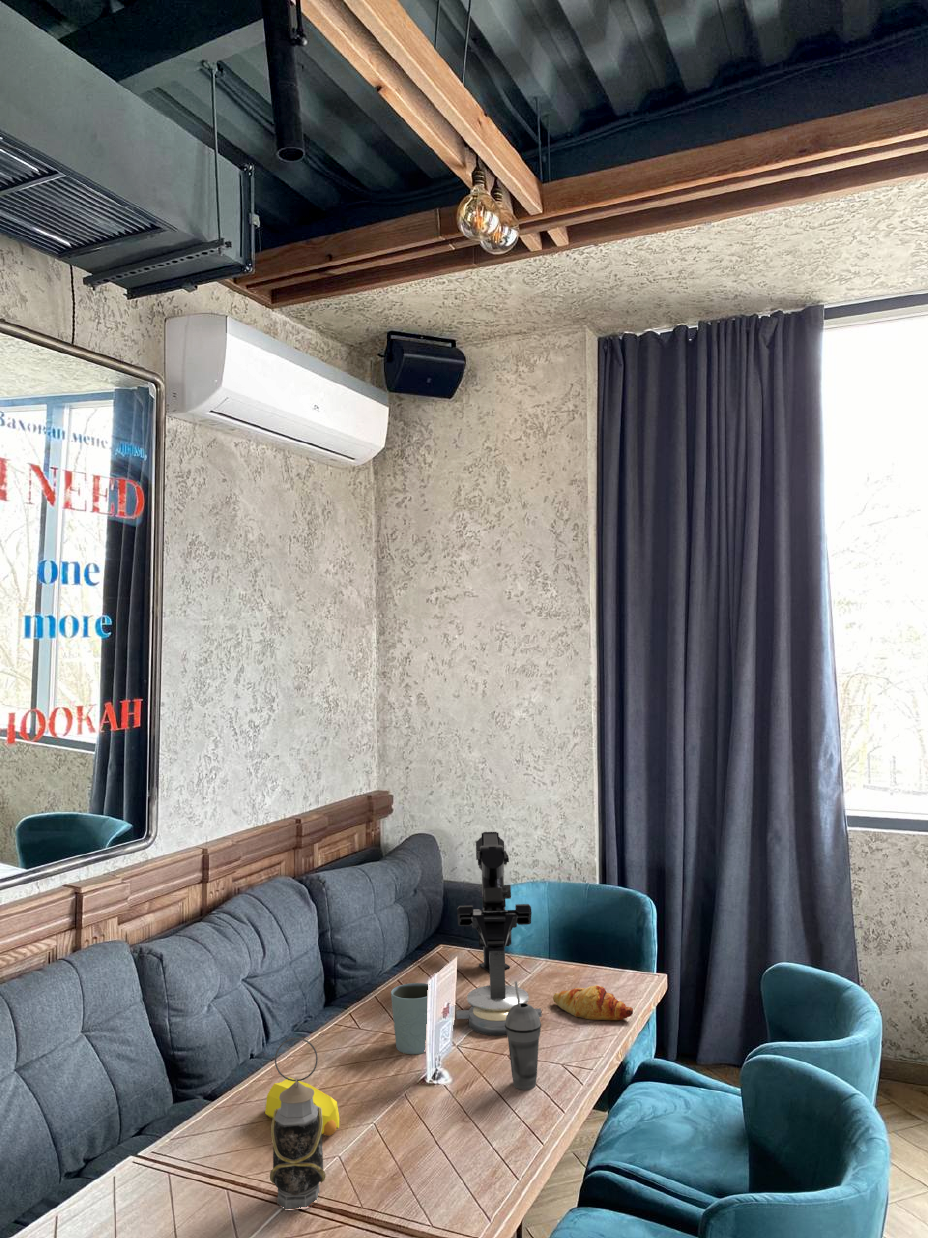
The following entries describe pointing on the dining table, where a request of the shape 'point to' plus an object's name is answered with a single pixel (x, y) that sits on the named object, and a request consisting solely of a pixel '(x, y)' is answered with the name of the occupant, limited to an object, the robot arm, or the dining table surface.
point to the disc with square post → (496, 988)
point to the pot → (487, 1020)
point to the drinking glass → (410, 1017)
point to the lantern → (297, 1144)
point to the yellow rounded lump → (319, 1099)
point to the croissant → (592, 1004)
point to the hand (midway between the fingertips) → (495, 946)
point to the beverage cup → (523, 1043)
